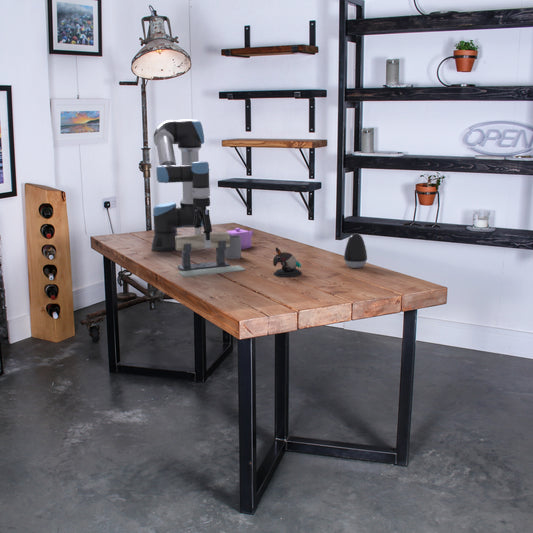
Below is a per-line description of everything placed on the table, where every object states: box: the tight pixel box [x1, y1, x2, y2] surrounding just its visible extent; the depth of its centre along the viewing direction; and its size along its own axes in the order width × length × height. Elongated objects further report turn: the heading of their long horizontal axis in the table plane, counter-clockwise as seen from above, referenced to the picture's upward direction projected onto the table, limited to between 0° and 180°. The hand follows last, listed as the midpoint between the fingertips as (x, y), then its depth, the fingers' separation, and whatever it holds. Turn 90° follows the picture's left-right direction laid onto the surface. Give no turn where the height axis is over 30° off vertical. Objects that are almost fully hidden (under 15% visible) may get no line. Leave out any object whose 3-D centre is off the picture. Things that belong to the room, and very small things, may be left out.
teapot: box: [225, 227, 254, 250], centre depth 331 cm, size 18×10×10 cm, turn 124°
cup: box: [224, 235, 242, 260], centre depth 308 cm, size 8×8×10 cm
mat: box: [178, 265, 246, 278], centre depth 281 cm, size 8×28×1 cm, turn 113°
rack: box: [177, 241, 231, 271], centre depth 287 cm, size 8×22×12 cm, turn 113°
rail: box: [175, 231, 230, 252], centre depth 286 cm, size 4×24×6 cm, turn 113°
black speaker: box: [343, 233, 368, 269], centre depth 284 cm, size 10×10×15 cm
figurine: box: [272, 247, 302, 278], centre depth 274 cm, size 11×12×12 cm
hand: (203, 244), depth 286 cm, fingers open, 13 cm apart
